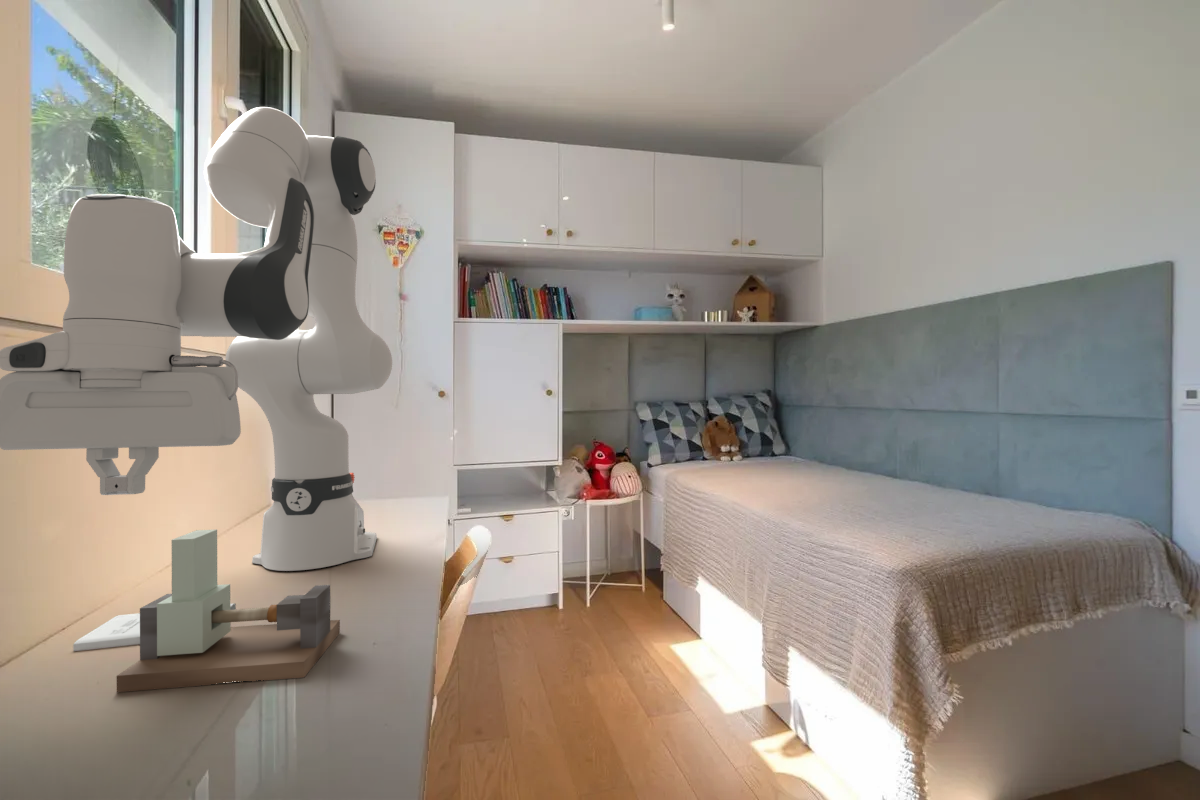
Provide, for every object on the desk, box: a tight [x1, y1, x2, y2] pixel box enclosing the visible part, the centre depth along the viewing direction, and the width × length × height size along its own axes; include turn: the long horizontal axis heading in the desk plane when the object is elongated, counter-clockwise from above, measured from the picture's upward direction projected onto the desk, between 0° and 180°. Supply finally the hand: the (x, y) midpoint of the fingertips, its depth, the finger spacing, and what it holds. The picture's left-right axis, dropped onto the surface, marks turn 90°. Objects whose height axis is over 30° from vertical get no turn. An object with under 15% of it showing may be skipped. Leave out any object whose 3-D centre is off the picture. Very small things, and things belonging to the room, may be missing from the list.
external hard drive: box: [72, 603, 237, 652], centre depth 62 cm, size 2×8×12 cm
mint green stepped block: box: [157, 529, 232, 656], centre depth 54 cm, size 5×4×11 cm
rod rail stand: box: [116, 584, 341, 693], centre depth 55 cm, size 10×16×6 cm, turn 98°
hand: (122, 494), depth 53 cm, fingers closed
